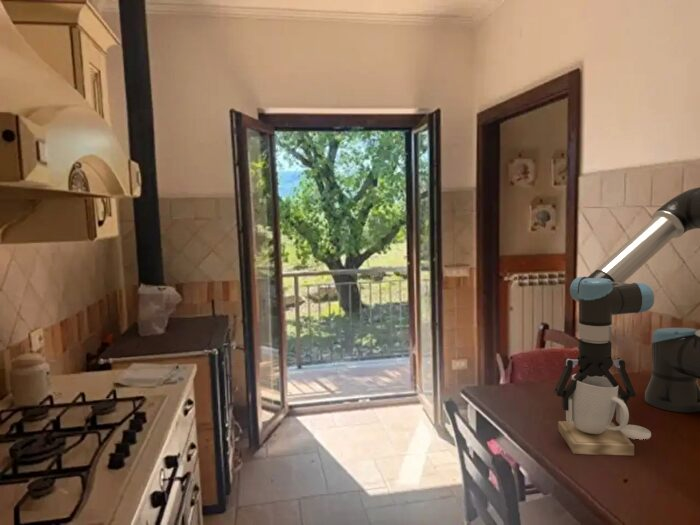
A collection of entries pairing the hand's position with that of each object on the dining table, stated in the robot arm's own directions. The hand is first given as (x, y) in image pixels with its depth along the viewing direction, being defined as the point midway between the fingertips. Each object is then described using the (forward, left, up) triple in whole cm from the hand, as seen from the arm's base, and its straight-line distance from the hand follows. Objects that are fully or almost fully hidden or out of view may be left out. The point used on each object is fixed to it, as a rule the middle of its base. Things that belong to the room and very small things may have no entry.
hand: (594, 422), depth 132 cm
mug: (0, 0, -2) cm, 2 cm away
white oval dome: (-12, -6, -6) cm, 14 cm away
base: (0, 0, -5) cm, 5 cm away
